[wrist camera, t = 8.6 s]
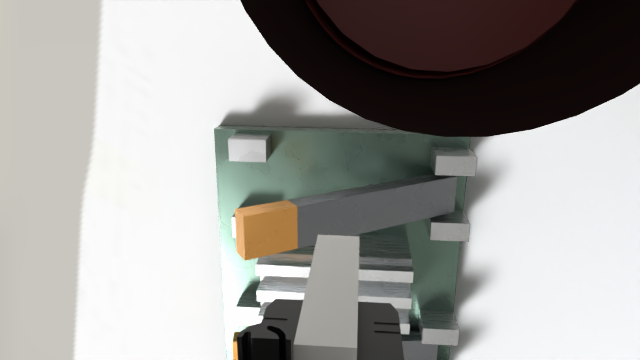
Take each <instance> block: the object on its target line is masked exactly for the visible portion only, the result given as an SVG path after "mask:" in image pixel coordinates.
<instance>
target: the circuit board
mask: <svg viewBox="0 0 640 360" xmlns="http://www.w3.org/2000/svg"><path fill="white" fill-rule="evenodd" d="M214 134H215V152H216V170H217V188H218V207H219V225H220V243H221V261H222V279H223V297H224V316H225V334H226V352H227V360H233V346H232V341H233V337H234V333H235V332H241V331H242V330H243V329H245V328H246V327H248V326H251V325H254V324H258V323H261V321H262V319H263V315H264V312H265V309H266V307H267V306H268V305H269V304H270V303H272V302H273V301H274V300H275V299H294V300H303V299H304V295H305V290H306V286H307V281H308V277H309V272H310V268H311V263H312V259H313V254H314V250H315V245H316V244H315V245H311V246H306V247H302V248H298V249H293V250H289V251H285V252H281V253H276V254H272V255H268V256H263V257H259V258H255V259H251V260H246V261H245V260H244V259H243V258H242V257H241V256H240V255H239V254H238V253H237V251H236V229H235V209H238V208H243V207H249V206H255V205H260V204H266V203H272V202H277V201H283V200H288V199H294V198H300V197H305V196H311V195H317V194H322V193H328V192H334V191H339V190H345V189H350V188H356V187H362V186H367V185H373V184H379V183H384V182H390V181H395V180H401V179H407V178H412V177H418V176H424V175H429V174H435V175H450V176H457V185H456V196H455V207H454V212H452V213H448V214H444V215H439V216H435V217H431V218H427V219H422V220H418V221H414V222H409V223H405V224H401V225H397V226H392V227H388V228H384V229H379V230H375V231H371V232H366V233H362V234H358V235H354V236H359V280H358V302H377V303H391V304H392V306H393V307H394V308H395V309H396V310H397V312H398V313H399V321H400V329H401V334H409V331H420V336H421V341H422V344H436V345H438V350H437V360H449V350H450V345H453V346H458V339H459V328H458V324H457V321H456V318H455V315H454V312H453V309H454V299H455V288H456V278H457V268H458V258H459V247H460V241H465V242H469V232H470V222H469V221H468V219H467V217H466V215H465V213H464V211H463V206H464V196H465V186H466V176H475V174H476V164H477V156H476V155H475V154H474V153H473V152H472V151H471V149H470V148H469V145H470V137H441V136H434V135H427V134H420V133H413V132H406V131H402V130H381V129H339V128H298V127H256V126H218V127H216V128H215V129H214Z"/></svg>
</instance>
